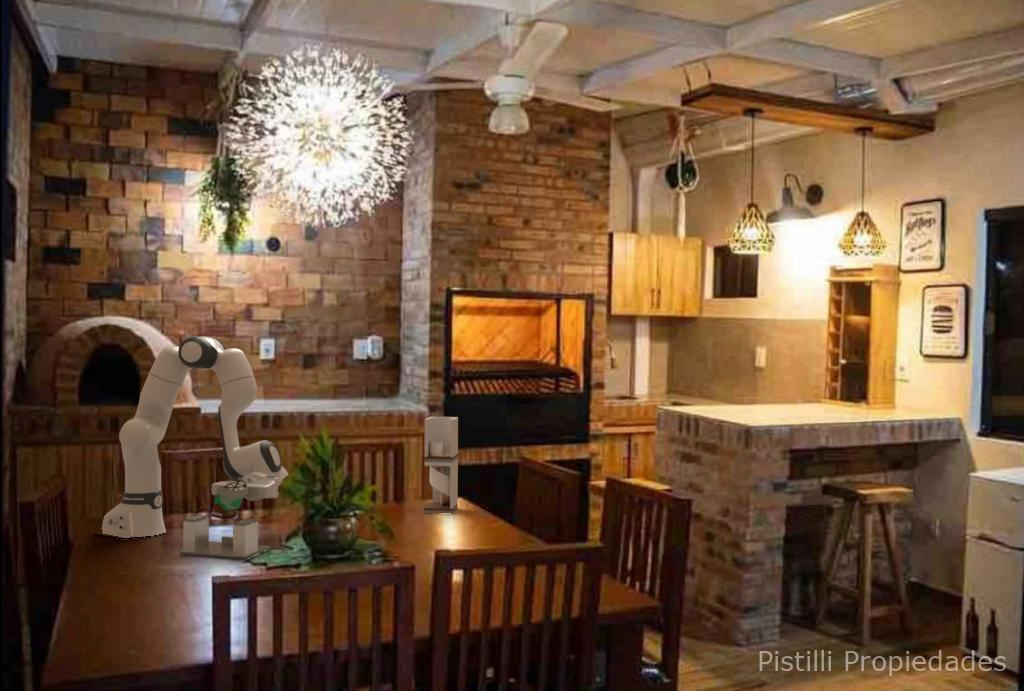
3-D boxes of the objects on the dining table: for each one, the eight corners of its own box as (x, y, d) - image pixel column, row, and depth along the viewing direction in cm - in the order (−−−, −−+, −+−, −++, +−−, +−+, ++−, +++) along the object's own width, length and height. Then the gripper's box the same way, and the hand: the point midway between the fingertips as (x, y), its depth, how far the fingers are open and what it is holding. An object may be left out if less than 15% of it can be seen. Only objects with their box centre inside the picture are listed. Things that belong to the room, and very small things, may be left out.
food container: (226, 525, 270) (234, 495, 268) (208, 517, 271) (217, 486, 269) (248, 513, 282) (257, 484, 280) (231, 505, 283) (239, 476, 281)
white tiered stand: (430, 507, 351) (430, 416, 350) (457, 508, 350) (457, 417, 349) (424, 513, 340) (424, 419, 339) (452, 514, 338) (453, 419, 338)
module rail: (180, 555, 273) (180, 519, 273) (209, 544, 287) (209, 510, 287) (245, 561, 267) (245, 524, 267) (272, 549, 281) (272, 514, 281)
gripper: (226, 474, 294) (200, 481, 281) (282, 477, 289) (259, 484, 276) (226, 494, 295) (200, 502, 281) (282, 497, 289) (259, 505, 276)
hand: (230, 493), depth 278 cm, fingers closed on food container
